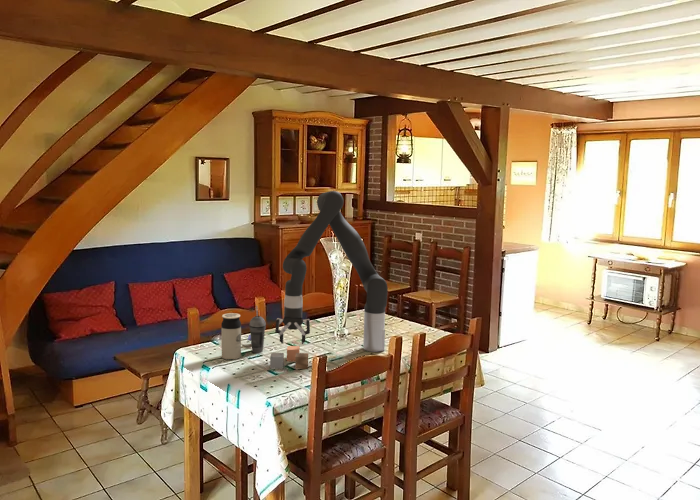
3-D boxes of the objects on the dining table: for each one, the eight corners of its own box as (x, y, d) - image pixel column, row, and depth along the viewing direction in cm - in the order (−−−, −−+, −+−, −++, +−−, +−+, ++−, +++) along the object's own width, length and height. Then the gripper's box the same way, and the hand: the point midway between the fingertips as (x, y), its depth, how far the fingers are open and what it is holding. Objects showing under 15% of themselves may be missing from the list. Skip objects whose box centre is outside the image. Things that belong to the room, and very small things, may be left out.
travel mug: (217, 357, 240) (217, 315, 238) (231, 352, 247) (231, 311, 244) (231, 361, 236) (231, 318, 233) (244, 356, 242) (244, 315, 240)
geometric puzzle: (260, 344, 253) (262, 326, 257) (245, 343, 253) (247, 326, 257) (263, 349, 259) (265, 332, 263) (248, 348, 260) (250, 332, 263)
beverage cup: (252, 354, 245) (252, 309, 242) (246, 349, 251) (246, 305, 248) (268, 352, 248) (268, 307, 245) (262, 347, 255) (263, 303, 252)
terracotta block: (299, 357, 243) (299, 346, 242) (298, 361, 238) (299, 349, 238) (287, 357, 243) (287, 346, 242) (286, 361, 238) (286, 349, 237)
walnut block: (308, 364, 235) (308, 353, 234) (307, 369, 230) (308, 357, 229) (295, 364, 234) (296, 353, 234) (295, 369, 229) (295, 357, 229)
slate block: (283, 364, 234) (283, 352, 233) (282, 369, 229) (282, 356, 228) (271, 364, 234) (271, 352, 233) (270, 368, 229) (270, 356, 228)
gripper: (310, 303, 242) (309, 341, 244) (276, 302, 241) (276, 340, 243) (310, 308, 234) (309, 346, 236) (275, 307, 234) (274, 345, 236)
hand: (292, 343), depth 240 cm, fingers open, 8 cm apart
